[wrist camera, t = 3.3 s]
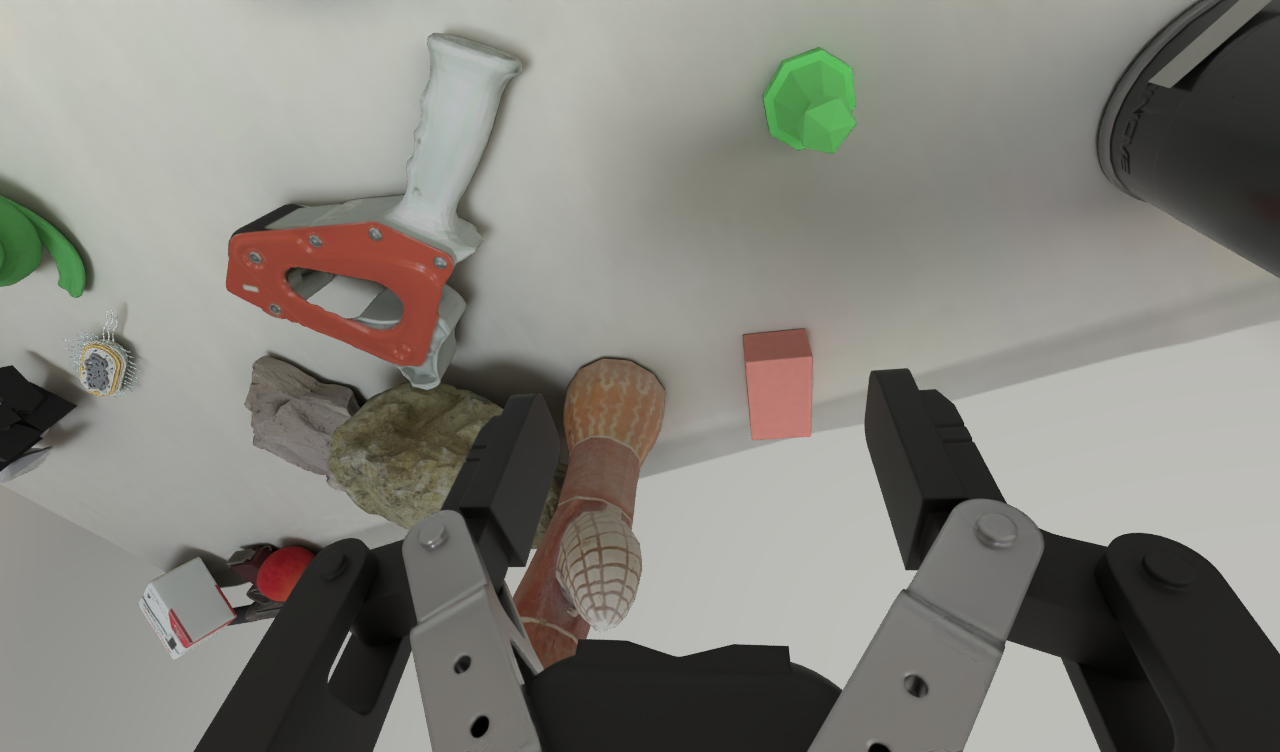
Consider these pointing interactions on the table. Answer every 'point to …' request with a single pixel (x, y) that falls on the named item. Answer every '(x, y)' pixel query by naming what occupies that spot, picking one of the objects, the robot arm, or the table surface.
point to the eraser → (779, 384)
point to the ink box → (186, 607)
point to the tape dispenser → (389, 229)
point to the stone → (297, 414)
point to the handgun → (248, 568)
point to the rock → (415, 452)
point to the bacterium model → (103, 364)
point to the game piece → (811, 101)
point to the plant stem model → (593, 511)
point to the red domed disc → (282, 571)
